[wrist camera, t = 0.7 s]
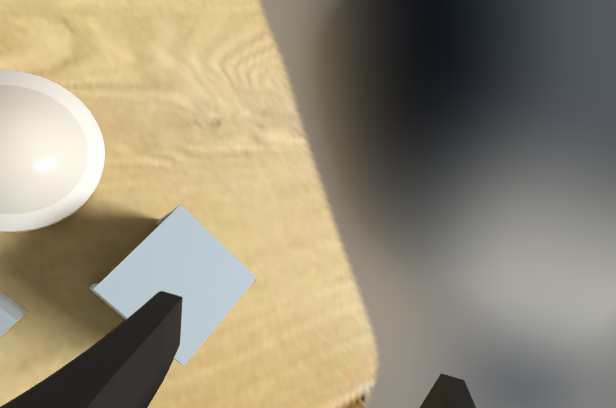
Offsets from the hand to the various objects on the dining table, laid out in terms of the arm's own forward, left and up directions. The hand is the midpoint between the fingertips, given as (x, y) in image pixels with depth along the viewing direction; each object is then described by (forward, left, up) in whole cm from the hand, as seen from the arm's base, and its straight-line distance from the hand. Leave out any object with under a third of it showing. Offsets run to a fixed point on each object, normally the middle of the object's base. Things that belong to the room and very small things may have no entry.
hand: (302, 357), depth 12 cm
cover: (+1, +2, -17) cm, 18 cm away
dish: (+1, +13, -17) cm, 22 cm away
